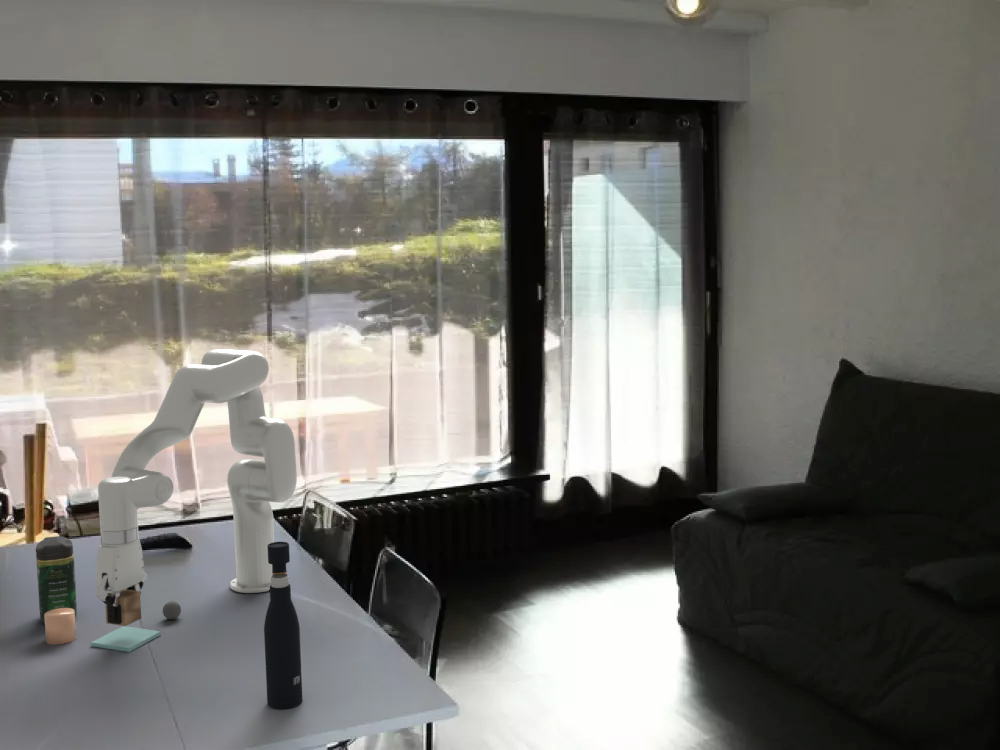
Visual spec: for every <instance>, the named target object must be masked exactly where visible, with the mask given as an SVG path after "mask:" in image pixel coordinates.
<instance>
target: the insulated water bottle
mask: <svg viewBox="0 0 1000 750" xmlns="http://www.w3.org/2000/svg"><path fill="white" fill-rule="evenodd" d="M267 547H268V563H269V564H272V573H273V575H272V576H271V579H270V580H271V585H270V591H269V604H268V607H267V610H266V614H265V619H264V624H263V625H264V626H263V632H264V633H263V637H264V655H265V656H264V657H265V679H266V680H265V681H266V700H267V703H266V704H267V706H268V707H269V708H272V709H275V710H288V709H294V708H296V707H297V706H298V707H299V705H301V704H302V702H303V681H302V680H303V679H302V678H303V677H302V659H301V658H302V655H301V631H300V630H301V629H300V622H299V617H298V614H297V610H296V608H295V606H294V605H295V604H294V603H293V601H292V593H291V591H292V590H291V584H290V580H289V579H290V577H289V574H287V572H288V570H287V564H289V562H290V561H291V560H290V559H291V558H290V544H289V543H288V542H286V541H274V542H273V543H270V544H268V545H267Z"/></svg>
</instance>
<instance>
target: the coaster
mask: <svg viewBox="0 0 1000 750" xmlns="http://www.w3.org/2000/svg"><path fill="white" fill-rule="evenodd" d="M161 633H162V632H161V631H158V630H155V629H154V630H153V629H145V628H140V627H134V626H133V627H132V626H128V625H127V626H121V627H119V628H116V629H114V630H112V631H110V632H109V633H107V634H105V635H103V636H101V637H99V638H97V639H95V640H93V641H91V642H90V645H91V647H96V648H100V649H102V648H103V649H109V650H115V651H121V652H127V653H130V652H132V651H134V650H136V649H138V648H139V647H141V646H143V645H145V644H147V643H149V642H150V641H153V640H154V639H156V638H157V637H159V636H161Z"/></svg>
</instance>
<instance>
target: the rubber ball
mask: <svg viewBox="0 0 1000 750" xmlns="http://www.w3.org/2000/svg"><path fill="white" fill-rule="evenodd" d="M181 613H182V608H181V605H180V604H179V602H176V601H174V600H172V601H168V602H166V603H165V604H164V605H163V607H162V615H163V616H164V617H165V618H166V619H168V620H175V619H177V618H178V617H179V616H180V615H181Z"/></svg>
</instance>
